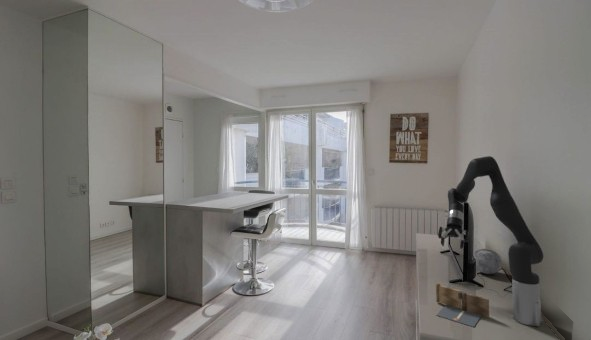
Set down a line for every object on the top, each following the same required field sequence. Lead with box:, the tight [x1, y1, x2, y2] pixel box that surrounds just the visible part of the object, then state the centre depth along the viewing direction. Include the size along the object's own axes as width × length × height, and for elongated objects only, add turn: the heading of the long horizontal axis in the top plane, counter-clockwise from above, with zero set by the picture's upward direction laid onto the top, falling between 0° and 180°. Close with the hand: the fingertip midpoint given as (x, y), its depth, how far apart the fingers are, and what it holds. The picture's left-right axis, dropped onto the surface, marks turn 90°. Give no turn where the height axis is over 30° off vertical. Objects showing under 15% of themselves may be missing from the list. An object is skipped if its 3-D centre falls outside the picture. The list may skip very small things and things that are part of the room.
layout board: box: [436, 304, 483, 328], centre depth 135 cm, size 15×17×1 cm
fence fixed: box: [461, 291, 490, 319], centre depth 135 cm, size 11×2×8 cm, turn 46°
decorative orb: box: [473, 248, 502, 275], centre depth 181 cm, size 15×14×15 cm
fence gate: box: [435, 283, 462, 308], centre depth 142 cm, size 11×2×9 cm, turn 46°
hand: (451, 246), depth 156 cm, fingers open, 8 cm apart
